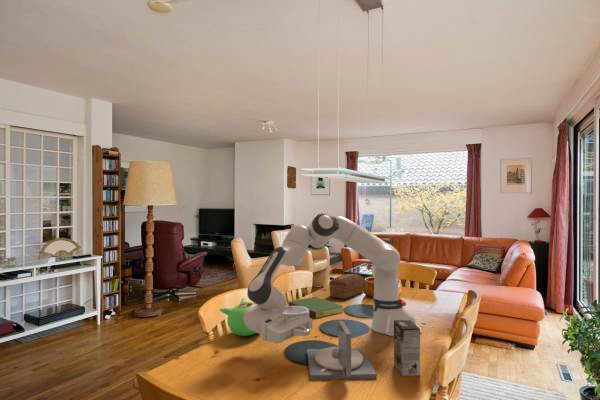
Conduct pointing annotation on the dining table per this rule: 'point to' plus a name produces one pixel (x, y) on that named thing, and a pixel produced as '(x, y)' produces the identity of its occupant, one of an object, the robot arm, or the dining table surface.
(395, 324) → the coffee box
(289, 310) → the paper bowls
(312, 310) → the hardcover book
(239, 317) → the green teapot
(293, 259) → the robot arm
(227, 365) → the dining table surface
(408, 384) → the dining table surface
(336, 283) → the bread
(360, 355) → the dial
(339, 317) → the dining table surface
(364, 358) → the dial board
